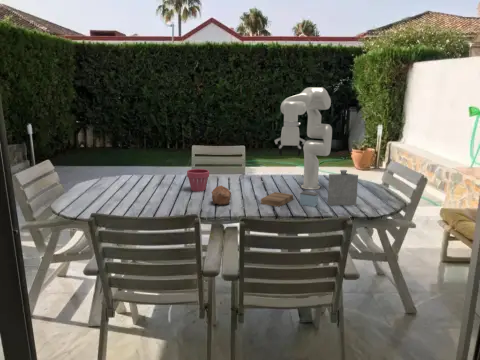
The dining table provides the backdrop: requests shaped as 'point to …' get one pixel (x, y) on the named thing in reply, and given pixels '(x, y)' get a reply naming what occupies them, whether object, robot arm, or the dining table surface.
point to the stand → (277, 199)
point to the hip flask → (342, 188)
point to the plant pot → (198, 179)
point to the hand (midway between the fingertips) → (289, 155)
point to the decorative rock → (221, 195)
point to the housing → (308, 198)
